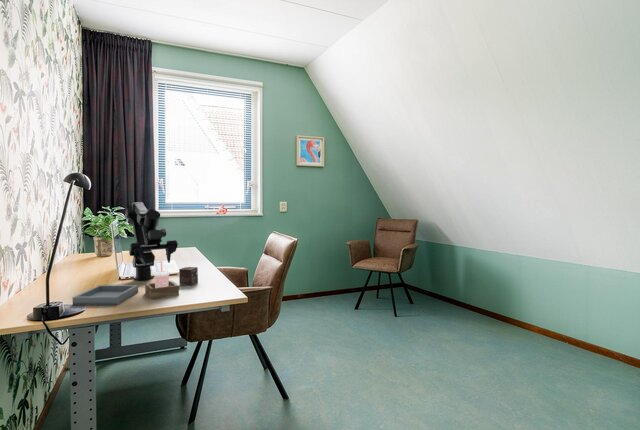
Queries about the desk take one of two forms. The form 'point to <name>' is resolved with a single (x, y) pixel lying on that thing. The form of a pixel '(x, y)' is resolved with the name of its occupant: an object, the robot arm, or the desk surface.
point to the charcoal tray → (106, 295)
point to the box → (188, 276)
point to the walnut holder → (161, 290)
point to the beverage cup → (161, 278)
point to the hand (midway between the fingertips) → (157, 263)
